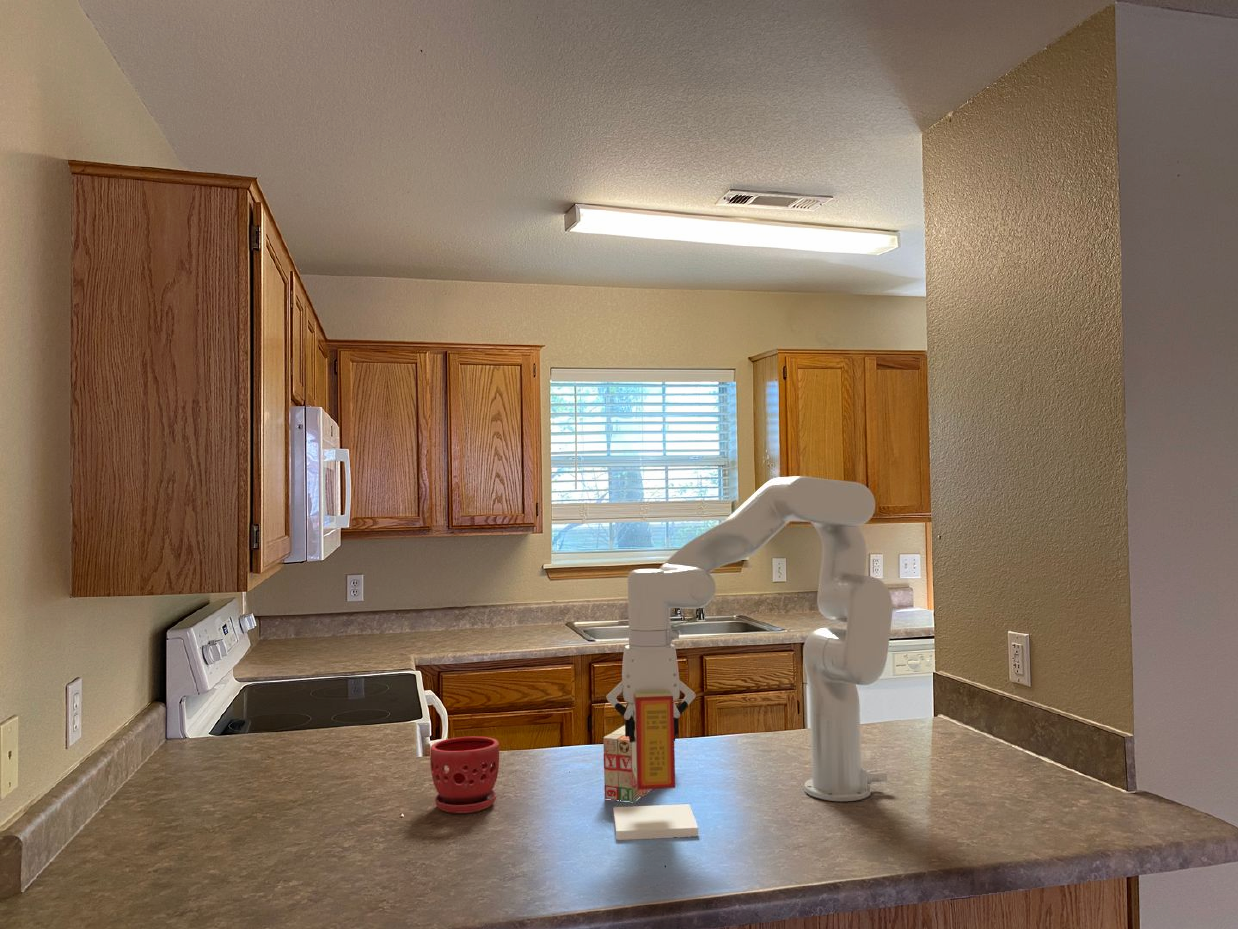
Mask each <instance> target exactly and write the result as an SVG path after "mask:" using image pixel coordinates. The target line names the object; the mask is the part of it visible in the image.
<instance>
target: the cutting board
mask: <svg viewBox="0 0 1238 929" xmlns="http://www.w3.org/2000/svg"><path fill="white" fill-rule="evenodd" d="M612 810H613V822H614V830H615V837H616V838H615V839H616V841H628V840H629V841H630V840H631V841H632V840H649V839H653V838H654V839H672V838H673V837H677V838H692V837H691V836H699V826H698V823H697V821H696V818H695V815H694V813H693V811H692V808H691V804H690V803H686V804H685V803H684V804H664V805H663V804H662V805H661V804H659V805H641V806H640V805H637V806H635V805H634V806H616V807H615V806H613V809H612ZM687 836H688V837H687Z"/></svg>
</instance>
